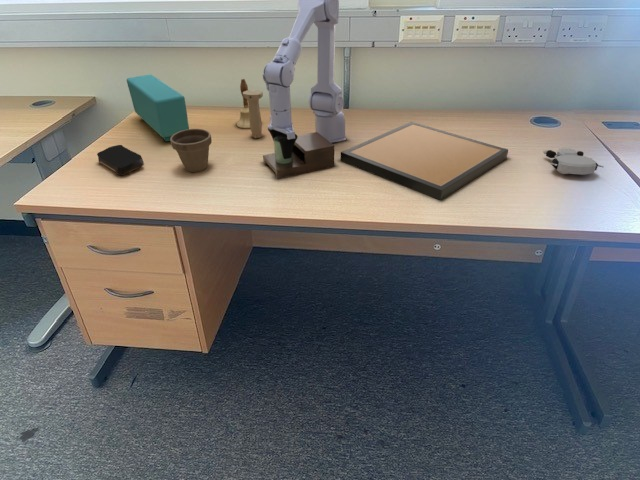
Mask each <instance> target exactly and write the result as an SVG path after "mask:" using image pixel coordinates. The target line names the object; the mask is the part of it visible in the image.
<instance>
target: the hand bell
mask: <svg viewBox="0 0 640 480" xmlns="http://www.w3.org/2000/svg"><path fill="white" fill-rule="evenodd" d="M248 87H249V86H248V83H247V81H246V79H245V78H241V79H240V85H239V88H240V94H241V97H242V103H243V104H242V105H243V108H241V109H240V111H239V112H240V113H239V120H238V121H237V122H236V127H238V128H240V129H251V128H250V121H249V103H248V100H247V99H246V98H244V97H243V92H244V91H249V88H248Z"/></svg>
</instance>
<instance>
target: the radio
mask: <svg viewBox="0 0 640 480" xmlns="http://www.w3.org/2000/svg"><path fill="white" fill-rule="evenodd" d="M126 84H127V88H128V91H129V94H130V98H131V103H132V106H133V109H134V112H135V113H136V115H137V116H139V117H140V118H141V119H142V120H143V122H145V123H146V124H147V125H148V126H149V127H150V128H152V130H154V131H155V133H157V135H159V136H160V137H161V138H163V140H164V142H170V138H171V136H172V135H173V134H175V133H177V132H179V131H183V130H187V129H190V126H189V125H190V124H189V117H188V111H187V104H186V98H185V96H184V95H183V94H181V93H179V92H178V91H177V90H175V89H174V88H172V87H171V86H169V85H168V84H166V83H165V82H163V81H162V80H160V78H159V79H158V77H156V76H155V75H153V74H151V73H150V74H143V75H138V76H133V77H132V76H131V77H127V78H126Z"/></svg>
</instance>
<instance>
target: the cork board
mask: <svg viewBox="0 0 640 480" xmlns="http://www.w3.org/2000/svg"><path fill="white" fill-rule="evenodd" d="M508 154H509V149H507V148H504V147H501V146H497V145H494V144H490V143H488V142H483V141H480V140H477V139H473V138H471V137H470V138H469V137H466V136H463V135H459V134H456V133H452V132H449V131H445V130H442V129H439V128H434V127H432V126H428V125H423V124H420V123H418V122H414V121H409V122H407V123H405V124H403V125H401V126H400V125H399V126H398V127H396V128H393V129H391V130H389V131H387V132H384V133H382V134H380V135H377V136H375V137H372V138H370V139H368V140H365V141H362V142H361V143H359V144H356V145H354V146H352V147H349V148H346V149H344V150H343V151H340V162H342V163H345V164H347V165H350V166H353V167H355V168H358V169H360V170H363V171H364V172H365V171H366V172H368V173H369V174H373V175H376V176H377V177H378V176H379V177H381V178H383V179H385V180H388V181H390V182H393V183H396V184H398V185H400V186H403V187H406V188H407V189H411V190H414V191H416V192H419V193H421V194H424V195H425V196H428V197H431V198H434V199H435V200H439V201H442V200H443V199H445V198H446V197H448V196H450V195H451V194H453V193H454V192H456V191H457V190H459V189H461V188H463V187H464V186H466V185H467V184H468V183H470V182H472V181H474V179H476V178H478V177H480V176H482V175H483V174H484V173H486V172H487V171H489V170H490V169H492V168H494V167H496V166H497V165H498V164H500V163H502V162H504V161H505V160H507V158H508Z"/></svg>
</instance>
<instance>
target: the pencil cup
mask: <svg viewBox="0 0 640 480" xmlns="http://www.w3.org/2000/svg"><path fill="white" fill-rule="evenodd" d="M273 150H274V151H273V153H275V161H276V162H277V163H280V164H286V163H290V162H292V160H293V155H292V156H291V158H289V159H284V158H283V155H282V150H281V146H280V143H279V141H278V139H277V138H276V137H275V138H274V141H273Z"/></svg>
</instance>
